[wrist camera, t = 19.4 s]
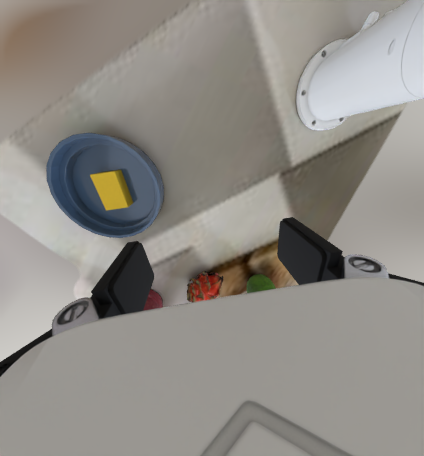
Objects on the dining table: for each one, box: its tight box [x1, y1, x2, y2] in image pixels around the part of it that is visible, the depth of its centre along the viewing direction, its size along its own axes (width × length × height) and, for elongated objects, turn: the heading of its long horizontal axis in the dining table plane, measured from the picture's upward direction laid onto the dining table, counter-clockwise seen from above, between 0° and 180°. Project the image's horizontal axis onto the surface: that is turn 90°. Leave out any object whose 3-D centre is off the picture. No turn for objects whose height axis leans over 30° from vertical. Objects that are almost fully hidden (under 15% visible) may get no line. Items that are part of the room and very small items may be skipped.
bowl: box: [47, 133, 164, 238], centre depth 31 cm, size 19×19×4 cm
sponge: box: [90, 170, 133, 210], centre depth 31 cm, size 7×4×3 cm, turn 7°
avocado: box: [247, 274, 276, 293], centre depth 43 cm, size 8×8×12 cm
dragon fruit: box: [187, 271, 223, 302], centre depth 44 cm, size 8×8×12 cm
